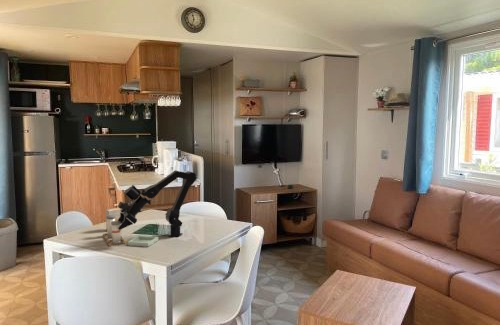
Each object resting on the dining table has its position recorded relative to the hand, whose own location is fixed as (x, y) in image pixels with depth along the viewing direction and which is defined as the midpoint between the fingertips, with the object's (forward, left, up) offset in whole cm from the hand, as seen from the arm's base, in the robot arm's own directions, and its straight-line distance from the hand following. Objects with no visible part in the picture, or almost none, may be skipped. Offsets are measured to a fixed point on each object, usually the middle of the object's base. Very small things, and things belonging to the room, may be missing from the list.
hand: (117, 227), depth 209 cm
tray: (-4, +13, -9) cm, 16 cm away
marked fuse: (0, -1, -9) cm, 9 cm away
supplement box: (-25, -18, -9) cm, 31 cm away
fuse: (-12, -11, -9) cm, 18 cm away
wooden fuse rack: (-6, -5, -9) cm, 12 cm away
